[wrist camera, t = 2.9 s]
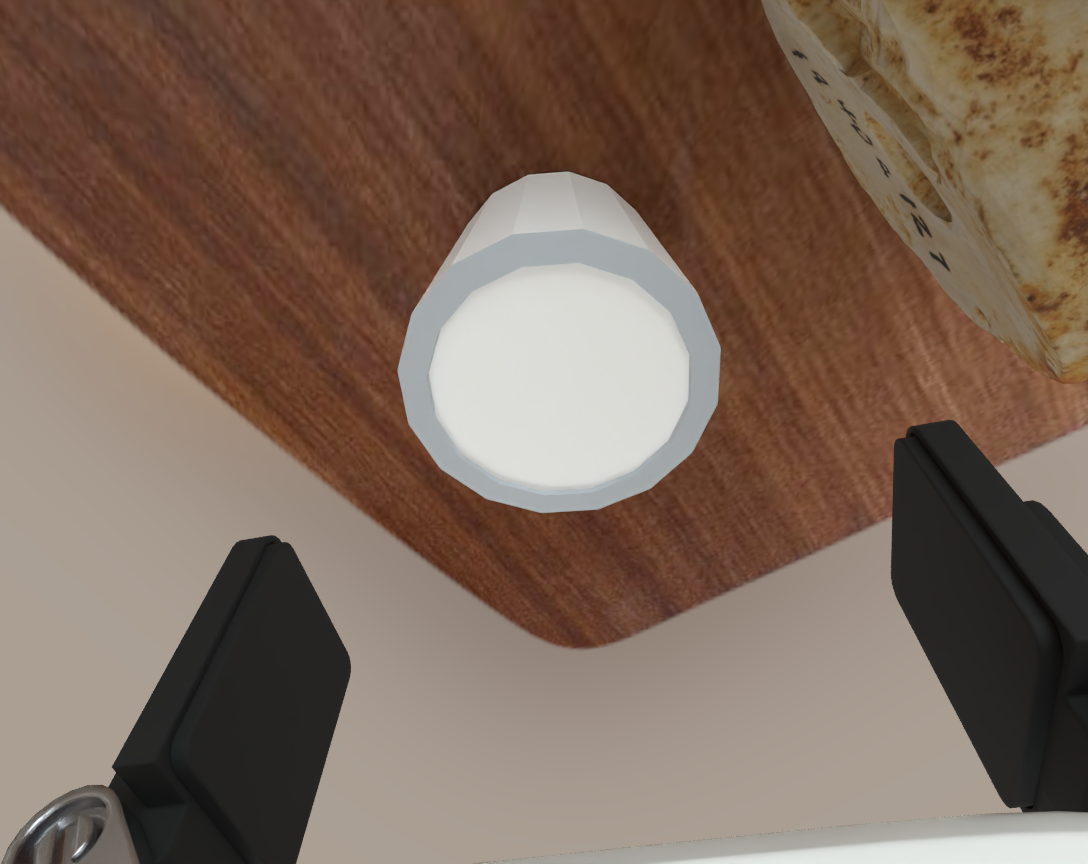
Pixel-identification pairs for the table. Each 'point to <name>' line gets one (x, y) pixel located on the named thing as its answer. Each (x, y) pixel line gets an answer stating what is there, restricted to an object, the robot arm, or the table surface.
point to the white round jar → (559, 351)
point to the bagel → (967, 148)
